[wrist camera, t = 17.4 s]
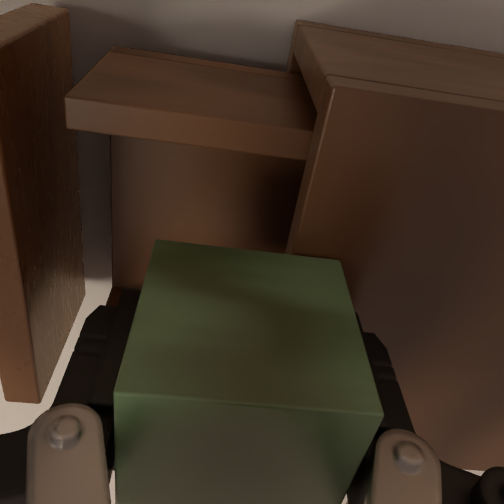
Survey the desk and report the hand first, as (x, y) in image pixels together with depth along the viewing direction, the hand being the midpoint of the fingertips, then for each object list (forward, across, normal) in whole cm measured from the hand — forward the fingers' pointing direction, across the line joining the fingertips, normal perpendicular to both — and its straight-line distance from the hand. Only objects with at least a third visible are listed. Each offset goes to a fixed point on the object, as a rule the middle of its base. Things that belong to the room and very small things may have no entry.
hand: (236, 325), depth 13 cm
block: (0, 0, 0) cm, 0 cm away
